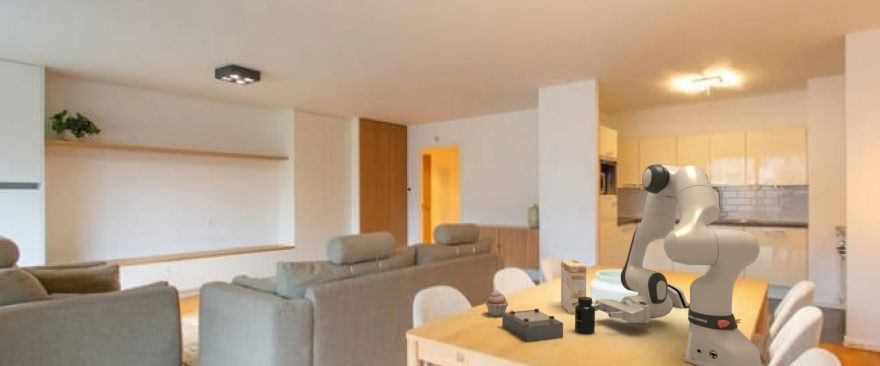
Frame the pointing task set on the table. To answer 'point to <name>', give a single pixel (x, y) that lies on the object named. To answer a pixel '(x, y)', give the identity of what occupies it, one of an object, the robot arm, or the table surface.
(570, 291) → the coffeecake box
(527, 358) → the table surface
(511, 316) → the box
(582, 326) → the supplement bottle
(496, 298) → the cupcake
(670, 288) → the grey curved wedge
